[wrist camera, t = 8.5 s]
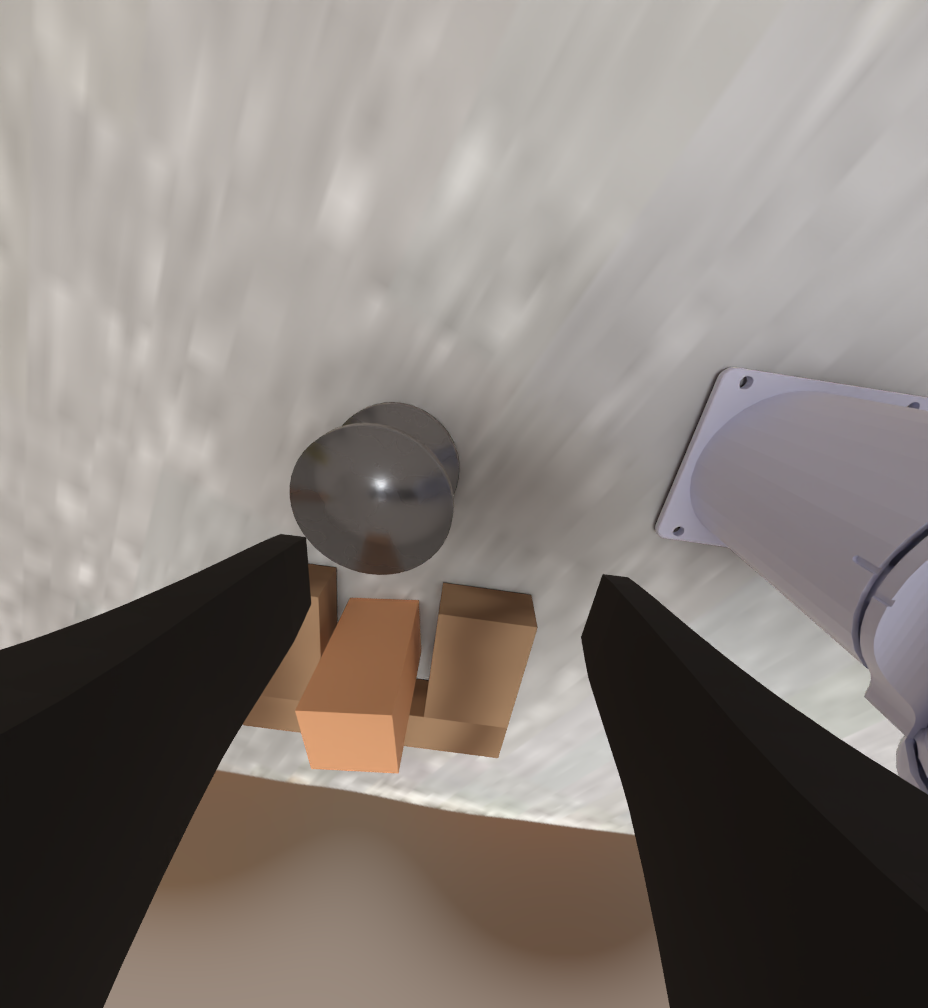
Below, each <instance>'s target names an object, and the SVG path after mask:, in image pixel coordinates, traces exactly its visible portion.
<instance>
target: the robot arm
mask: <svg viewBox="0 0 928 1008" xmlns="http://www.w3.org/2000/svg"><path fill="white" fill-rule="evenodd" d="M745 376H746V378H747V382H746V384H745V385H744V386H743V387H741V388H740V386H739V384H740V381H741V380H742V378H744V377H745ZM909 404H910V405H909ZM908 405H909V407H907V406H908ZM677 527H680V529H679V530H678V531H676V532H673V530H674V529H675V528H677ZM655 530H656V532H657V533H658V535H659V536H661V537H663V538H667V539H674V540H681V541H688V542H695V543H701V544H708V545H715V546H722V547H729V548H730V549H731V550H732V551H733V552H734V553H736V554H737V555H738V556H739V557H740V558H741V559H743V560H744V561H745V562H746V563H747V564H748V565H749V566H751V567H752V568H753V569H754V570H755V571H756V572H757V573H759V574H760V575H761V576H762V577H763V578H764V579H765V580H767V581H768V582H769V583H770V584H771V585H772V586H773V587H775V588H776V589H777V590H778V591H779V592H780V593H781V594H783V595H784V596H785V597H786V598H787V599H788V600H789V601H791V602H792V603H793V604H794V605H795V606H796V607H798V608H799V609H800V610H801V611H802V612H803V613H804V614H806V615H807V616H808V617H809V618H810V619H811V620H812V621H814V622H815V623H816V624H817V625H818V626H819V627H820V628H822V629H823V630H824V631H825V632H826V633H827V634H828V635H830V636H831V637H832V638H833V639H834V640H835V641H836V642H838V643H839V644H840V645H841V646H842V647H843V648H845V649H846V650H847V651H848V652H849V653H850V654H851V655H853V656H854V657H855V658H856V659H857V660H858V661H859V662H861V663H862V664H863V665H864V666H865V667H866V668H868V669H869V671H870V673H871V681H870V685H869V687H868V689H867V691H866V693H865V696H864V697H865V698H866V699H867V700H868V701H869V702H870V703H871V704H872V705H873V706H875V707H876V708H877V709H878V710H879V711H880V712H881V713H882V714H883V715H884V716H885V717H886V718H887V719H888V720H889V721H890V722H891V723H892V724H893V725H894V726H896V727H897V728H898V729H899V730H900V731H901V732H902V733H903V734H904V735H905V736H904V737H903V738H902V739H901V741H900V743H899V745H898V748H897V751H896V768H897V772H898V775H899V776H898V775H896V774H894V773H893V772H891V771H889V770H888V769H886V768H885V767H883V766H881V765H880V764H878V763H877V762H875V761H873V760H872V759H870V758H868V757H867V756H865V755H864V754H862V753H861V752H859V751H858V750H856V749H855V748H853V747H851V746H850V745H848V744H847V743H845V742H844V741H842V740H841V739H839V738H838V737H836V736H835V735H833V734H832V733H830V732H829V731H827V730H826V729H824V728H823V727H821V726H820V725H819V724H817V723H816V722H814V721H813V720H811V719H810V718H808V717H807V716H805V715H804V714H803V713H801V712H800V711H798V710H797V709H795V708H794V707H792V706H791V705H789V704H788V703H787V702H785V701H784V700H782V699H781V698H780V697H778V696H777V695H775V694H774V693H773V692H771V691H770V690H769V689H767V688H766V687H764V686H763V685H762V684H761V683H759V682H758V681H757V680H755V679H754V678H753V677H751V676H750V675H749V674H747V673H746V672H745V671H743V670H742V669H741V668H739V667H738V666H737V665H736V664H734V663H733V662H732V661H730V660H729V659H728V658H727V657H725V656H724V655H723V654H722V653H720V652H719V651H718V650H716V649H715V648H714V647H713V646H711V645H710V644H709V643H708V642H707V641H705V640H704V639H703V638H702V637H700V636H699V635H698V634H697V633H696V632H694V631H693V630H692V629H691V628H690V627H688V626H687V625H686V624H685V623H684V622H682V621H681V620H680V619H679V618H678V617H676V616H675V615H674V614H673V613H672V612H670V611H669V610H668V609H667V608H666V607H665V606H663V605H662V604H661V603H660V602H659V601H657V600H656V599H655V598H654V597H653V596H651V595H650V594H649V593H648V592H646V591H645V590H644V589H643V588H641V587H640V586H639V585H638V584H636V583H635V582H634V581H632V580H631V579H629V578H628V577H621V576H613V575H605V574H603V575H602V578H601V581H600V584H599V586H598V589H597V592H596V595H595V598H594V601H593V604H592V607H591V610H590V613H589V616H588V619H587V621H586V624H585V627H584V630H583V633H582V636H581V639H582V645H583V651H584V657H585V663H586V668H587V673H588V678H589V681H590V684H591V688H592V691H593V694H594V697H595V701H596V704H597V707H598V710H599V713H600V716H601V720H602V723H603V726H604V729H605V732H606V735H607V738H608V741H609V744H610V748H611V751H612V754H613V757H614V760H615V763H616V766H617V769H618V773H619V776H620V779H621V782H622V785H623V789H624V793H625V796H626V800H627V803H628V807H629V811H630V815H631V820H632V824H633V828H634V833H635V837H636V841H637V846H638V850H639V855H640V859H641V863H642V868H643V872H644V877H645V882H646V887H647V892H648V896H649V902H650V906H651V911H652V916H653V921H654V926H655V931H656V935H657V940H658V946H659V951H660V957H661V962H662V967H663V973H664V978H665V983H666V989H667V994H668V1000H669V1005H670V1008H928V397H923V396H916V395H910V394H903V393H897V392H891V391H884V390H878V389H872V388H865V387H859V386H852V385H846V384H840V383H833V382H827V381H821V380H814V379H808V378H801V377H795V376H789V375H782V374H776V373H769V372H763V371H757V370H750V369H744V368H737V367H729V368H727V369H725V370H723V371H722V372H721V373H720V375H719V376H718V378H717V380H716V382H715V385H714V387H713V389H712V392H711V394H710V397H709V399H708V401H707V404H706V406H705V409H704V411H703V413H702V416H701V418H700V420H699V423H698V425H697V428H696V430H695V432H694V435H693V437H692V440H691V442H690V444H689V447H688V449H687V451H686V454H685V456H684V459H683V461H682V463H681V466H680V468H679V470H678V473H677V475H676V478H675V480H674V482H673V485H672V487H671V490H670V492H669V494H668V497H667V499H666V501H665V504H664V506H663V509H662V511H661V513H660V516H659V518H658V520H657V523H656V526H655ZM310 606H311V593H310V580H309V568H308V556H307V544H306V537H300V536H292V535H284V534H280V535H277V536H275V537H272V538H270V539H267V540H265V541H263V542H261V543H259V544H256V545H254V546H252V547H250V548H248V549H246V550H244V551H242V552H240V553H237V554H235V555H233V556H231V557H229V558H227V559H225V560H223V561H221V562H219V563H217V564H214V565H212V566H210V567H208V568H206V569H204V570H202V571H200V572H198V573H195V574H193V575H191V576H189V577H187V578H185V579H182V580H180V581H178V582H176V583H173V584H171V585H169V586H166V587H164V588H162V589H160V590H157V591H155V592H153V593H150V594H148V595H146V596H144V597H141V598H139V599H137V600H134V601H132V602H130V603H128V604H125V605H123V606H120V607H118V608H115V609H113V610H110V611H108V612H105V613H103V614H100V615H98V616H95V617H93V618H90V619H87V620H85V621H82V622H79V623H76V624H74V625H71V626H68V627H66V628H63V629H60V630H57V631H55V632H52V633H49V634H47V635H44V636H41V637H38V638H35V639H32V640H29V641H27V642H23V643H20V644H17V645H14V646H11V647H8V648H5V649H2V650H0V1008H103V1007H104V1004H105V1002H106V1000H107V998H108V995H109V993H110V991H111V989H112V986H113V984H114V981H115V979H116V977H117V975H118V972H119V970H120V968H121V966H122V964H123V961H124V959H125V957H126V955H127V953H128V951H129V948H130V946H131V944H132V942H133V940H134V937H135V935H136V933H137V931H138V929H139V927H140V924H141V923H142V920H143V918H144V916H145V914H146V912H147V909H148V907H149V905H150V903H151V901H152V899H153V897H154V894H155V892H156V890H157V888H158V886H159V884H160V882H161V880H162V877H163V875H164V873H165V871H166V869H167V867H168V865H169V863H170V861H171V859H172V857H173V855H174V853H175V851H176V849H177V847H178V845H179V843H180V841H181V839H182V837H183V834H184V833H185V830H186V828H187V826H188V824H189V822H190V820H191V818H192V816H193V814H194V812H195V810H196V808H197V806H198V804H199V803H200V801H201V799H202V797H203V795H204V793H205V791H206V789H207V787H208V785H209V783H210V781H211V779H212V777H213V775H214V773H215V771H216V769H217V768H218V766H219V764H220V762H221V760H222V758H223V756H224V755H225V753H226V751H227V749H228V748H229V746H230V744H231V742H232V741H233V739H234V737H235V736H236V734H237V732H238V731H239V729H240V728H241V726H242V724H243V723H244V721H245V720H246V718H247V716H248V715H249V713H250V712H251V710H252V709H253V707H254V705H255V704H256V702H257V701H258V699H259V697H260V696H261V694H262V693H263V691H264V689H265V688H266V686H267V685H268V683H269V682H270V680H271V678H272V677H273V675H274V674H275V672H276V670H277V669H278V667H279V666H280V664H281V662H282V661H283V659H284V657H285V656H286V654H287V653H288V651H289V649H290V648H291V646H292V644H293V643H294V641H295V639H296V637H297V635H298V632H299V630H300V628H301V626H302V624H303V622H304V620H305V617H306V615H307V613H308V611H309V608H310Z"/></svg>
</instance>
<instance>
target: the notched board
mask: <svg viewBox="0 0 928 1008" xmlns="http://www.w3.org/2000/svg"><path fill="white" fill-rule="evenodd" d="M308 568H309V580H310V593H311V606H310V608H309V611H308V613H307V615H306V617H305V620H304V622H303V624H302V626H301V628H300V630H299V632H298V635H297V637H296V639H295V641H294V643H293V644H292V646H291V648H290V649H289V651H288V653H287V654H286V656H285V657H284V659H283V661H282V662H281V664H280V666H279V667H278V669H277V670H276V672H275V674H274V675H273V677H272V678H271V680H270V682H269V683H268V685H267V686H266V688H265V689H264V691H263V693H262V694H261V696H260V697H259V699H258V701H257V702H256V704H255V705H254V707H253V709H252V710H251V712H250V713H249V715H248V716H247V718H246V720H245V721H244V723H243V725H246V726H254V727H261V728H269V729H277V730H285V731H292V732H300V733H301V730H300V727H299V723H298V720H297V716H296V713H295V710H296V708H297V705H298V703H299V701H300V699H301V697H302V695H303V693H304V691H305V689H306V687H307V685H308V683H309V681H310V679H311V677H312V675H313V673H314V671H315V669H316V667H317V665H318V663H319V661H320V659H321V656H322V654H323V652H324V650H325V648H326V646H327V644H328V642H329V640H330V638H331V636H332V634H333V632H334V630H335V628H336V626H337V581H336V568H335V567H328V566H320V565H313V564H308ZM537 628H538V627H537V622H536V617H535V612H534V607H533V601H532V596H531V595H528V594H520V593H513V592H506V591H499V590H492V589H485V588H478V587H470V586H463V585H456V584H449V583H443V588H442V595H441V601H440V608H439V615H438V622H437V629H436V636H435V643H434V650H433V657H432V664H431V670H430V677H429V681H428V680H420V679H416V682H415V687H414V693H413V698H412V703H411V709H410V714H409V719H408V725H407V730H406V736H405V741H404V746H408V747H416V748H424V749H432V750H439V751H447V752H455V753H463V754H470V755H478V756H486V757H493V758H498V757H499V753H500V750H501V747H502V743H503V740H504V737H505V734H506V730H507V727H508V724H509V720H510V717H511V714H512V710H513V707H514V704H515V700H516V697H517V694H518V691H519V687H520V684H521V681H522V677H523V674H524V671H525V667H526V664H527V661H528V657H529V654H530V651H531V648H532V644H533V641H534V638H535V634H536V631H537Z"/></svg>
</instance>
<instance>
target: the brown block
mask: <svg viewBox="0 0 928 1008" xmlns="http://www.w3.org/2000/svg"><path fill="white" fill-rule="evenodd" d="M420 655H421V636H420V616H419V600H396V599H369V598H350V599H349V601H348V603H347V605H346V607H345V609H344V612H343V614H342V616H341V618H340V620H339V622H338V624H337V626H336V628H335V630H334V632H333V634H332V636H331V638H330V640H329V642H328V644H327V646H326V648H325V650H324V652H323V654H322V656H321V659H320V661H319V663H318V665H317V667H316V669H315V671H314V673H313V675H312V677H311V679H310V681H309V683H308V685H307V687H306V689H305V691H304V693H303V695H302V697H301V699H300V701H299V703H298V705H297V708H296V710H295V713H296V716H297V720H298V723H299V727H300V730H301V734H302V737H303V741H304V745H305V748H306V752H307V755H308V759H309V762H310V766H311V769H326V770H345V771H364V772H382V773H399V768H400V762H401V757H402V752H403V746H404V741H405V736H406V730H407V725H408V719H409V714H410V709H411V703H412V698H413V693H414V687H415V682H416V677H417V671H418V666H419V660H420Z"/></svg>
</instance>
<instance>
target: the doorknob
mask: <svg viewBox="0 0 928 1008" xmlns="http://www.w3.org/2000/svg"><path fill="white" fill-rule="evenodd" d="M458 477H459V458H458V453H457V450H456V447H455V444H454V442H453V440H452V438H451V436H450V435H449V433H448V432H447V430H446V429H445V428H444V427H443V425H442V424H441V423H440V422H439V421H438V420H436V419H435V418H434V417H433V416H431V415H430V414H428V413H427V412H425V411H423V410H421V409H419V408H417V407H414V406H411V405H408V404H403V403H395V402H389V403H380V404H375V405H372V406H369V407H367V408H365V409H363V410H361V411H359V412H358V413H356V414H355V415H353V416H352V417H351V418H349V419H348V420H347V421H346V422H345V423H344V424H343V426H342V427H339V428H336V429H334V430H332V431H330V432H328V433H326V434H325V435H323V436H322V437H320V438H319V439H317V440H316V441H315V442H313V443H312V444H311V445H310V446H309V447H308V448H307V449H306V450H305V451H304V452H303V453H302V455H301V456H300V458H299V459H298V461H297V463H296V465H295V467H294V470H293V473H292V476H291V482H290V501H291V507H292V510H293V514H294V517H295V519H296V521H297V523H298V525H299V527H300V529H301V531H302V532H303V534H304V535H305V536H306V538H307V539H308V540H309V541H310V543H311V544H312V545H313V546H314V547H315V548H316V549H317V550H319V551H320V552H321V553H322V554H323V555H325V556H326V557H328V558H329V559H330V560H332V561H334V562H336V563H337V564H339V565H341V566H344V567H346V568H348V569H351V570H355V571H358V572H362V573H367V574H377V575H387V574H396V573H401V572H404V571H408V570H410V569H413V568H415V567H417V566H419V565H421V564H423V563H424V562H426V561H427V560H428V559H430V558H431V557H432V556H433V555H434V554H435V553H436V552H437V551H438V550H439V549H440V547H441V546H442V545H443V543H444V541H445V539H446V538H447V535H448V533H449V530H450V527H451V522H452V517H453V508H454V498H453V495H454V493H455V490H456V487H457V482H458Z"/></svg>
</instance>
